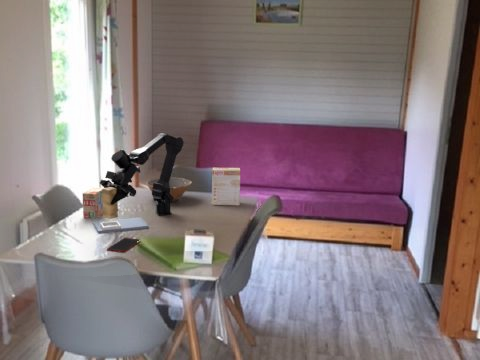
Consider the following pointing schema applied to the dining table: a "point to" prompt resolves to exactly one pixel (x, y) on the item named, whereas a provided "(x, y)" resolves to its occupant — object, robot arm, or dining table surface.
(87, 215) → the stack of blocks
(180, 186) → the bowl
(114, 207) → the pillar block
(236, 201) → the coffeecake box
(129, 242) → the cell phone
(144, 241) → the dining table surface
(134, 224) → the board
